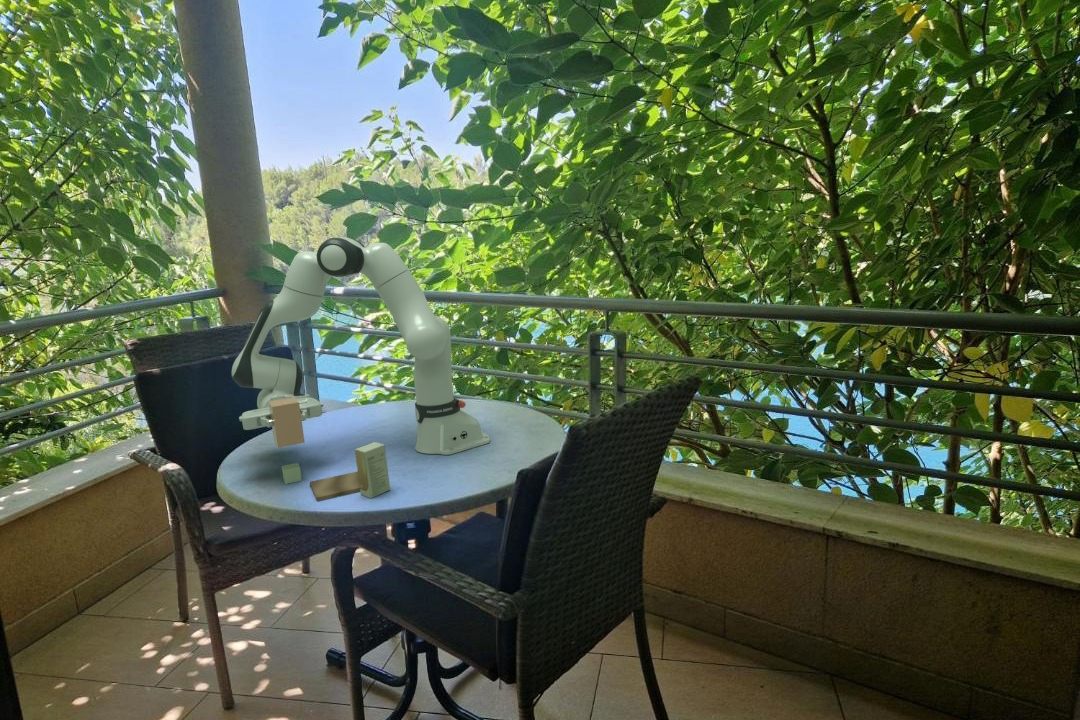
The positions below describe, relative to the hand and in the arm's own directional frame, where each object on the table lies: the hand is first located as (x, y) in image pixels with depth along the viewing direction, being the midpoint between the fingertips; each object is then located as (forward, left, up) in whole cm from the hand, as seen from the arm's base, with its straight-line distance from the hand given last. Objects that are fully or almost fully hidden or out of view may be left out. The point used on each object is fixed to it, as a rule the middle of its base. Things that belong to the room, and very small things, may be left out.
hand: (286, 421), depth 163 cm
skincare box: (-16, +21, -17) cm, 31 cm away
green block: (+1, -1, -17) cm, 17 cm away
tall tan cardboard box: (0, -1, -6) cm, 6 cm away
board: (-9, +12, -17) cm, 22 cm away
